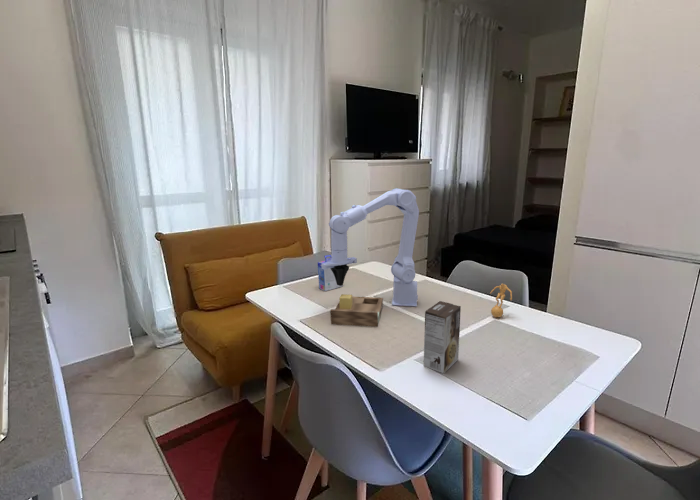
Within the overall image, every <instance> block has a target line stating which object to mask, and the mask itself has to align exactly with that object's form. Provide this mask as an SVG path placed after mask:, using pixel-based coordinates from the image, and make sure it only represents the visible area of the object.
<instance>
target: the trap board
mask: <svg viewBox="0 0 700 500" xmlns="http://www.w3.org/2000/svg"><path fill="white" fill-rule="evenodd" d="M383 305H384V297H375V296H374V297H373V296H370V297H369V296H354V295H352V307H351V309H340V301H339V302H338V303H337V305H336V307H335V309H330V324H331V325H340V326H358V327H374V328H378V326H379V322H380V318H381V313H382V309H383Z"/></svg>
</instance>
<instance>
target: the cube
mask: <svg viewBox="0 0 700 500" xmlns="http://www.w3.org/2000/svg"><path fill="white" fill-rule="evenodd" d="M352 296H353V294H345V293H344V294H343V293H342V294H340V297H339V301H340V309H351V307H352Z"/></svg>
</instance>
